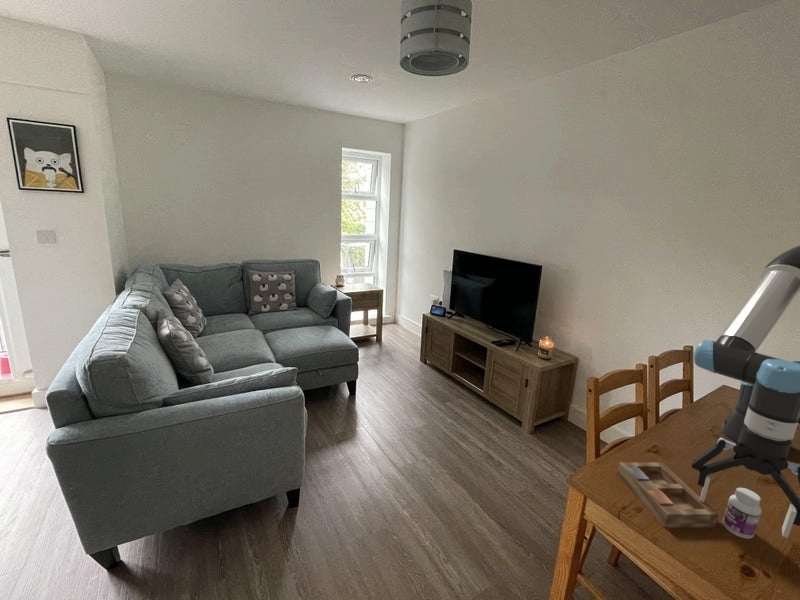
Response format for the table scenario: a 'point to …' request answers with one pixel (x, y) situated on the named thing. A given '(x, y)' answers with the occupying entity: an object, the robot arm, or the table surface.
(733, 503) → the pill bottle
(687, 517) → the socket block
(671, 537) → the table surface
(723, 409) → the table surface
